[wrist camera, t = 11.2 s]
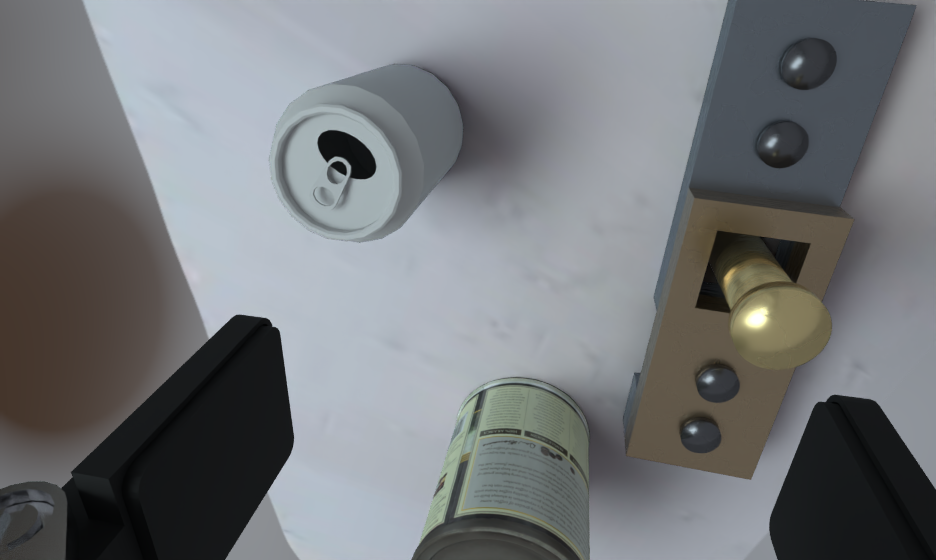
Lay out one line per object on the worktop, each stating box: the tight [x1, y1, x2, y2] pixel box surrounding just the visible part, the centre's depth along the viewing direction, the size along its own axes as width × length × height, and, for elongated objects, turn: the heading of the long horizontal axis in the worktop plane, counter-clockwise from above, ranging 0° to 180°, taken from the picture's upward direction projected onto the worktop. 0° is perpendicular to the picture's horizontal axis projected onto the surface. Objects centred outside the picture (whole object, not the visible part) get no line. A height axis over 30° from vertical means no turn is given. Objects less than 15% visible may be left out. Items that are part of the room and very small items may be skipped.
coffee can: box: [412, 378, 590, 560], centre depth 39 cm, size 10×10×14 cm
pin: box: [709, 231, 832, 370], centre depth 32 cm, size 4×4×10 cm
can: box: [269, 64, 463, 243], centre depth 31 cm, size 8×8×12 cm
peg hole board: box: [623, 0, 917, 480], centre depth 34 cm, size 28×8×5 cm, turn 175°
